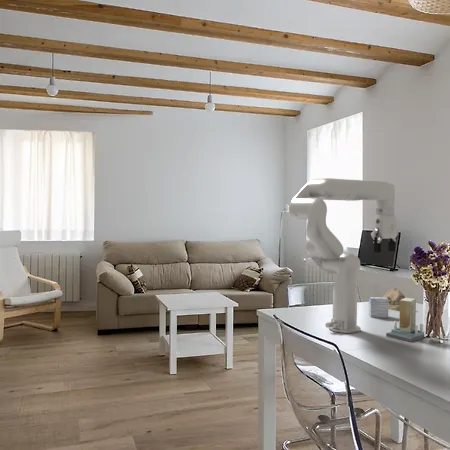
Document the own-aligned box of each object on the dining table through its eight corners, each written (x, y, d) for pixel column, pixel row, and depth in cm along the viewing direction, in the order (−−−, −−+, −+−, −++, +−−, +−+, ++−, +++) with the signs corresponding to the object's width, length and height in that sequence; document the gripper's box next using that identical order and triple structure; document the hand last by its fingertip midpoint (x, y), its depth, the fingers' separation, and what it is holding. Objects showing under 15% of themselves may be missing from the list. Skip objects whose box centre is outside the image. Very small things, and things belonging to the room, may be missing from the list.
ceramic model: (376, 306, 243) (377, 286, 243) (394, 304, 247) (394, 285, 247) (395, 311, 230) (395, 291, 230) (413, 310, 234) (414, 289, 234)
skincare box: (404, 328, 188) (405, 297, 188) (415, 329, 185) (416, 298, 185) (398, 331, 183) (399, 299, 183) (410, 333, 180) (410, 301, 180)
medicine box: (386, 315, 220) (386, 297, 220) (388, 318, 215) (388, 299, 215) (368, 315, 221) (368, 296, 220) (370, 317, 216) (370, 298, 216)
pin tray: (409, 341, 176) (410, 328, 176) (386, 336, 184) (386, 322, 184) (429, 336, 185) (430, 322, 185) (406, 330, 193) (406, 318, 192)
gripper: (379, 212, 197) (379, 253, 197) (405, 212, 206) (404, 251, 207) (364, 212, 203) (364, 252, 203) (390, 211, 213) (389, 250, 213)
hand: (384, 251), depth 205 cm, fingers open, 9 cm apart
